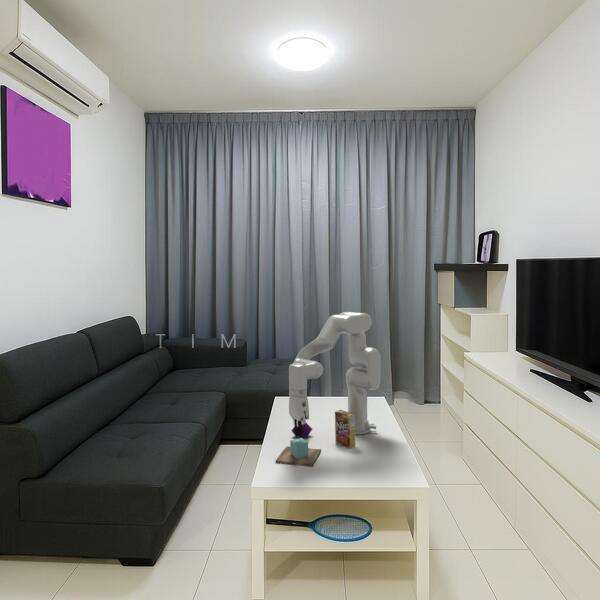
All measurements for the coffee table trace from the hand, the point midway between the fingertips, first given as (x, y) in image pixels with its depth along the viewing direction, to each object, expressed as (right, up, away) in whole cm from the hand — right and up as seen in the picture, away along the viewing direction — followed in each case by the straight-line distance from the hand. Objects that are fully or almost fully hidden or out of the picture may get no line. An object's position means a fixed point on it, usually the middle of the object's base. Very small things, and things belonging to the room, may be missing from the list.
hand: (298, 434), depth 197 cm
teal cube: (0, -9, +1) cm, 9 cm away
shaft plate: (0, -10, +1) cm, 10 cm away
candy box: (+21, -9, +14) cm, 27 cm away
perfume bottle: (+2, -8, +25) cm, 27 cm away
